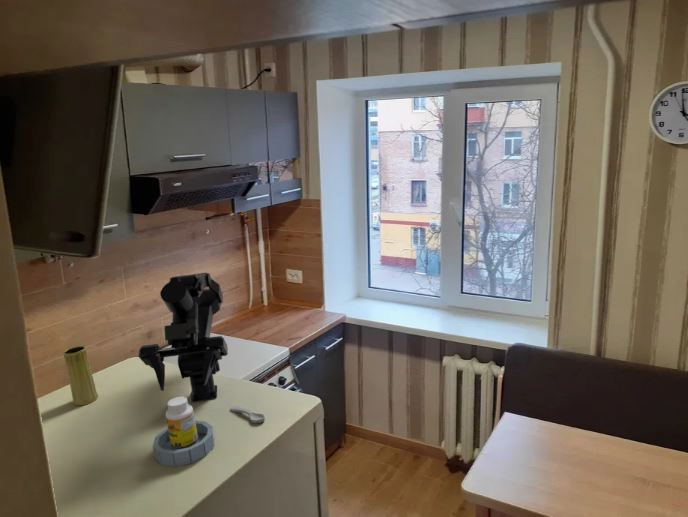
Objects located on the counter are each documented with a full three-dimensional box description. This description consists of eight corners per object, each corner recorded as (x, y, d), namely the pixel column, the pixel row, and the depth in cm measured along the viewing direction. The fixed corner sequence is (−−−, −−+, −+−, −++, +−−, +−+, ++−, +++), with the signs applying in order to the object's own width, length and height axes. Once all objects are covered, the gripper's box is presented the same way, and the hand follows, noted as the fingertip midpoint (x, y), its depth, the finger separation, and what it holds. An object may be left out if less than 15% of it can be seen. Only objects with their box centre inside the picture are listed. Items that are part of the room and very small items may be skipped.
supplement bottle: (167, 445, 111) (159, 401, 109) (192, 434, 115) (184, 391, 112) (177, 455, 107) (168, 410, 105) (203, 444, 110) (195, 400, 108)
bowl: (159, 439, 115) (157, 427, 115) (215, 428, 118) (212, 416, 117) (152, 471, 104) (149, 458, 103) (213, 458, 106) (211, 445, 106)
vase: (103, 394, 140) (92, 344, 137) (88, 406, 134) (76, 354, 131) (83, 394, 141) (71, 345, 138) (67, 406, 136) (55, 355, 132)
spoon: (258, 427, 117) (256, 418, 116) (228, 415, 125) (226, 407, 125) (268, 421, 119) (267, 413, 119) (238, 410, 127) (236, 402, 127)
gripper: (132, 312, 115) (127, 380, 107) (218, 302, 116) (218, 369, 108) (148, 333, 125) (144, 397, 116) (227, 323, 126) (228, 386, 118)
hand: (183, 387), depth 115 cm, fingers open, 9 cm apart
